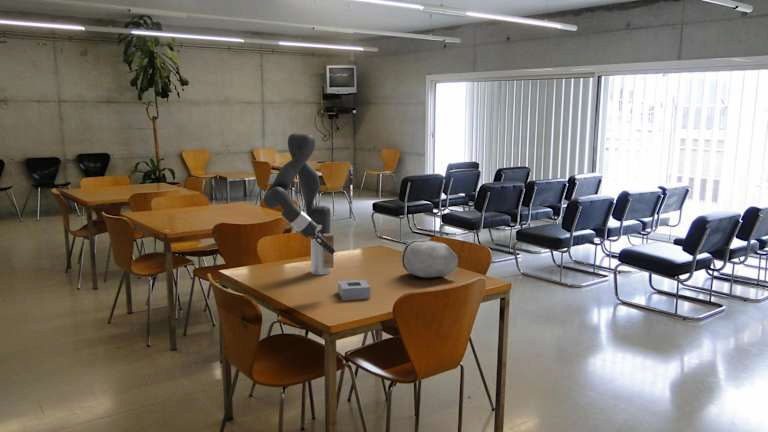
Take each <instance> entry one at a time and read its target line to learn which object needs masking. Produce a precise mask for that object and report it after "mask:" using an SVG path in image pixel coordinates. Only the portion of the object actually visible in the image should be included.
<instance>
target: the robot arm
mask: <svg viewBox="0 0 768 432" xmlns="http://www.w3.org/2000/svg"><path fill="white" fill-rule="evenodd" d="M287 147H288V148H287V149H288V151H289V155H290V157H291V160H290V161H288V162H286V163H285V164H284V165H283V166H282V167H280V170H279V171H278V173H277V174H276V176H275V179H274V180H273V182H272V184H271V185H270V186H269V187H268V189H267V190H266V192H265V194H264V196H263V202H264V203H263V204H264V205H265V206H266V207H267V208H268V209H275V208H277V207H279V206H280V208H281V209H282V211H281V216H282V217H283V218H284V219H285V220H286V221H287V222H288V223H289V224H290V225H291V226H292V227H293V228H294V230H296V231H297V232H298V233H299V234H300V235H301V236H302V237H304V239H308V238H310V273H311V274H312V275H317V276H318V275H319V276H320V275H321V276H322V275H328V274H331V271H330V270H331V268H324V267H323V248H324V249H326V250H327V251H328V252H329V253H330V254H333V253H334V254H335V252H336V250H335V249H334V247H333V248H332V247H331V246H330V245H329V244H328V243H327V242H326V240H325V239H324V238H323V234H331V220H332V219H331V214H332V213H331V208H330V207H329V206H328V205H327V206H326V205H315V204H314V203H315V202H314V200H315V198H316V197H317V195H318V193H319V191H320V189H321V181H320V177H319V174H318V172H317V171H316V169H315V168H314V167H313V166H312V165H311V164H310V162H308V160H309V158H310V157H311V156H312V155H313V153H314V151H315V148H316V140H315V137H314V135H310V134H307V133H305V134H304V133H291V134H290V135H289V136H288V138H287ZM296 177H297V178H298V179H297V180H298V183H299V187H300V190H301V193H302V197H303V201H304V206H305V212H304V211H302V209H301V208H300V207H298V206H297V205H296V203H294V201H293V199H292V198H291V196H290V194H289V193H288V192H287V191H288V190H289V189H290V188H291V186H292V184H293V183H294V180H295V178H296ZM318 226H321V228H320V229H318ZM317 229H318V230H317ZM324 243H325V245H324V246H323V244H324Z"/></svg>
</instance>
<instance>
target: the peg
mask: <svg viewBox="0 0 768 432" xmlns="http://www.w3.org/2000/svg"><path fill="white" fill-rule="evenodd" d="M323 238H324V239H325V240H326V242H327V243H328V244H329V245H330V246H331V247H332V248H334V234H333V233H331V232H330V234H323ZM324 245H325V243H324V244H323V246H324ZM334 254H335V252H334V253H333V254H330V253H329V252H328V251H327V250H326V249H324V248H323V267H324V268H330V269H332V268H335V267H334V260H335V259H334V258H335V257H334Z"/></svg>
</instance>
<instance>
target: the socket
mask: <svg viewBox="0 0 768 432" xmlns="http://www.w3.org/2000/svg"><path fill="white" fill-rule="evenodd" d="M337 293H338V295H339V296H340V298H341V301H353V300H368V299H369V300H370V299H371V286H370V285H369V284H368V282H367V281H366V279H354V280H353V279H351V280H337Z"/></svg>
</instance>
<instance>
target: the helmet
mask: <svg viewBox="0 0 768 432" xmlns="http://www.w3.org/2000/svg"><path fill="white" fill-rule="evenodd" d="M458 263H459V258H458V255H457V254H456V253H455V252H454V251H453V249H451V247H450V246H448V245H447V244H445V242H440V241H435V240H428V239H415V240H410V241H409V242H408V243H407V244H406V245H405V246H404V248H403V250H402V253H401V264H402V268H403V269H404V270H405V272H407V273H408V274H411V275H413V276H415V277H416V276H417V277H421V278H425V279H426V278H435V277H439V278H440V277H441V278H443V277H444V278H445V277H448V276H450V275H452V274H453V273H455V272H456V271H457V269H458Z"/></svg>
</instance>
